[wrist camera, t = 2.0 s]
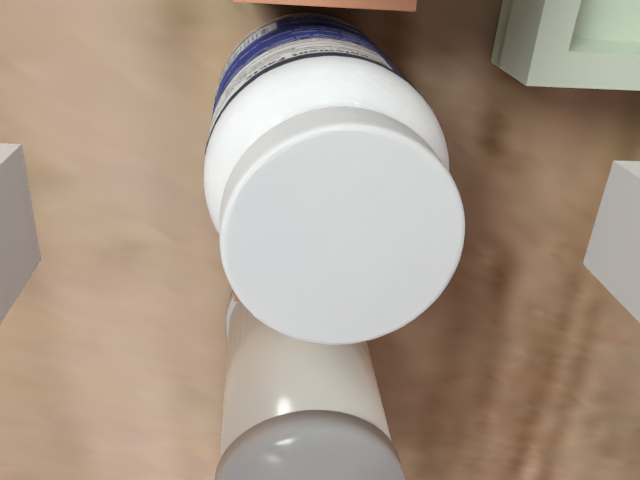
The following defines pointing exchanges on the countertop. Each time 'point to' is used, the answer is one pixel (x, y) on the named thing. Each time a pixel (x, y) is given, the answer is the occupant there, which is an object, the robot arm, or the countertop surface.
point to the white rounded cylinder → (300, 409)
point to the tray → (570, 43)
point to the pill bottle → (329, 184)
